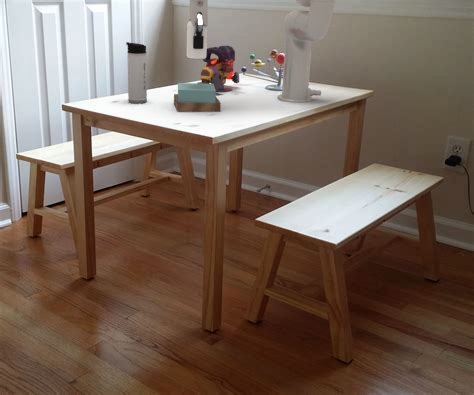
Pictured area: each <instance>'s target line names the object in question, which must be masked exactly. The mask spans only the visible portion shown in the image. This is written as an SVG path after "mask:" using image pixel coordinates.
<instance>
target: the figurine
mask: <svg viewBox="0 0 474 395" xmlns="http://www.w3.org/2000/svg"><path fill="white" fill-rule="evenodd" d="M212 54H213V55H215V56H217V57H215V58H214V57H213V58H212ZM235 60H236V50H235V49H234V47H232V46H231V45H220V46H213V47H212V46H211V47H207V54H206V58H205V59H202V61H203V62H204V63H205V66H204V67H203V68H202V70H201V71H200V76H199V77H200V81H198V82H197V83H200V84H214V87H215V90H216V93H230V92H232V91H233V87H232V86H230V85H226V82H227V80H228V81H229V80H231V82H233V83H234V84H238V83H240V73H239V72H238V71H235V68H234V62H235ZM234 71H235V72H234Z"/></svg>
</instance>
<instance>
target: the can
mask: <svg viewBox="0 0 474 395" xmlns="http://www.w3.org/2000/svg"><path fill="white" fill-rule="evenodd" d="M203 24H204V23H203ZM196 26H198V24H196ZM205 26H206V25H203V36H204V42H203V49H194V48H193V36H194V27H193V26H192V23H191V20H190V18H189V19H188V21H187V26H186V57H187V59H190V60H203V59H205V58H206V54H207V48H208V45H207V44H208V26H207V27H205ZM196 29H197V28H196Z"/></svg>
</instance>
